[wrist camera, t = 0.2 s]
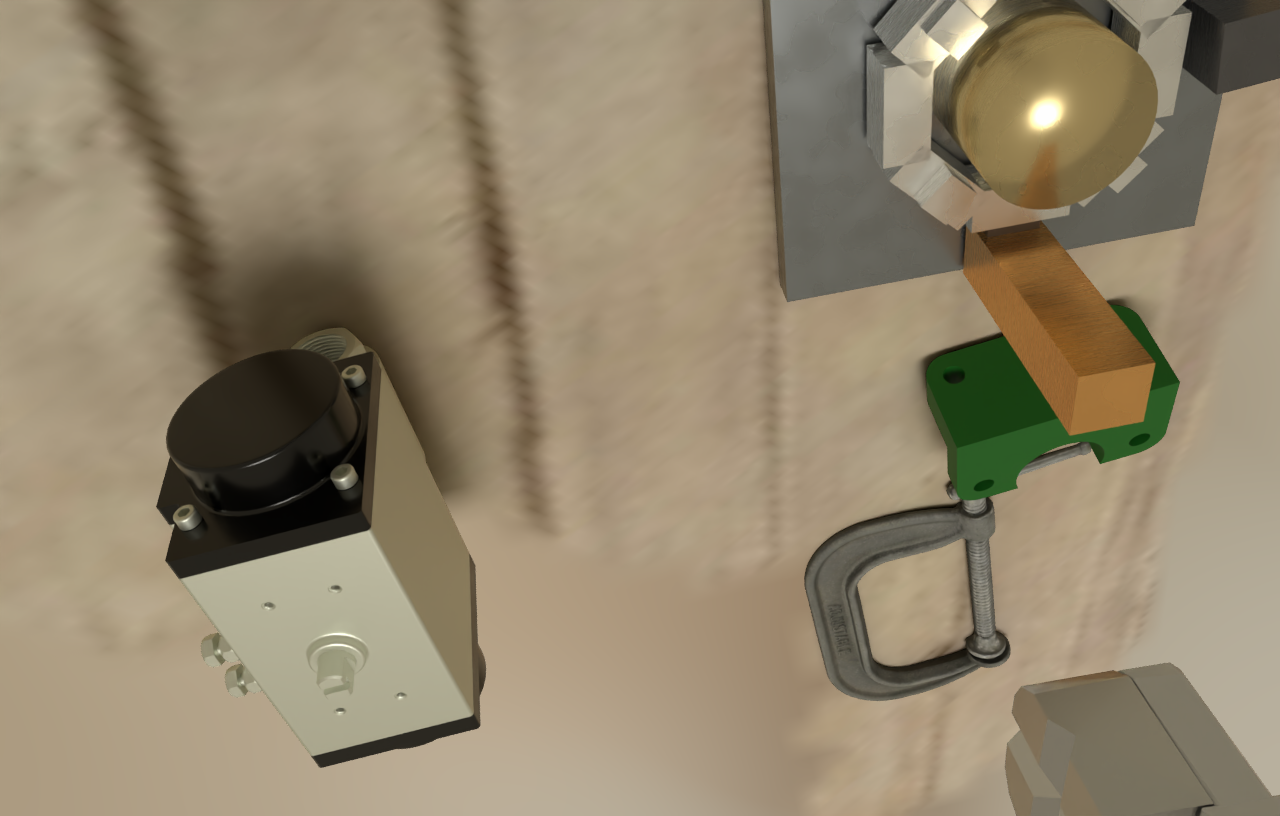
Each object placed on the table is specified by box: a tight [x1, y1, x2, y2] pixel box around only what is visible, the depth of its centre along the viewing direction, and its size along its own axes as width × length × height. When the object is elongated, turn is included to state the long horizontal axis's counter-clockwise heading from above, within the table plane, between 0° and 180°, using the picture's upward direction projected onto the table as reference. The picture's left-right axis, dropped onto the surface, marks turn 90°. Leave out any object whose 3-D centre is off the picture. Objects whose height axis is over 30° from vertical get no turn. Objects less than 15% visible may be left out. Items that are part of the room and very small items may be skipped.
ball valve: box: [156, 327, 486, 768], centre depth 50 cm, size 18×8×18 cm, turn 12°
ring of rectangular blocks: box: [867, 0, 1192, 435], centre depth 44 cm, size 16×12×12 cm
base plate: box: [763, 0, 1280, 302], centre depth 46 cm, size 20×20×8 cm
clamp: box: [926, 305, 1180, 501], centre depth 60 cm, size 12×6×9 cm, turn 100°
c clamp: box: [804, 442, 1091, 701], centre depth 71 cm, size 20×17×3 cm
